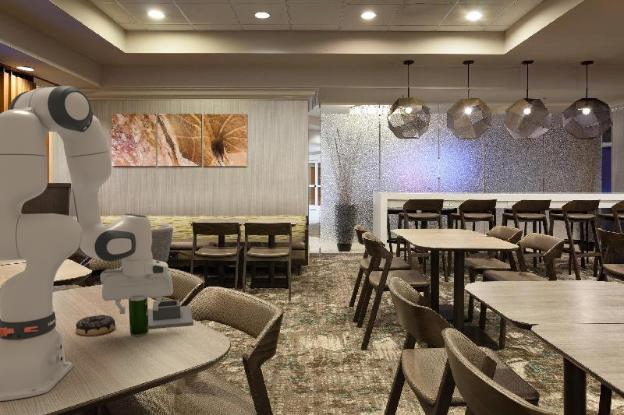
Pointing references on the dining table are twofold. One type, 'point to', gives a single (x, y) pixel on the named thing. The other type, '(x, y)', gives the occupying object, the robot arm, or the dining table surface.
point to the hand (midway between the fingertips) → (139, 311)
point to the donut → (95, 325)
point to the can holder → (169, 315)
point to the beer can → (138, 316)
